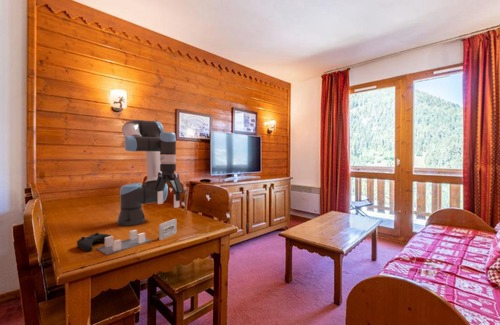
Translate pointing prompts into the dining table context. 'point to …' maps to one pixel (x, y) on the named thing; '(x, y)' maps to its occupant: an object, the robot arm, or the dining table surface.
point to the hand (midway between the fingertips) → (168, 205)
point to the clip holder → (123, 243)
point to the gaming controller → (90, 241)
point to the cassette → (167, 232)
